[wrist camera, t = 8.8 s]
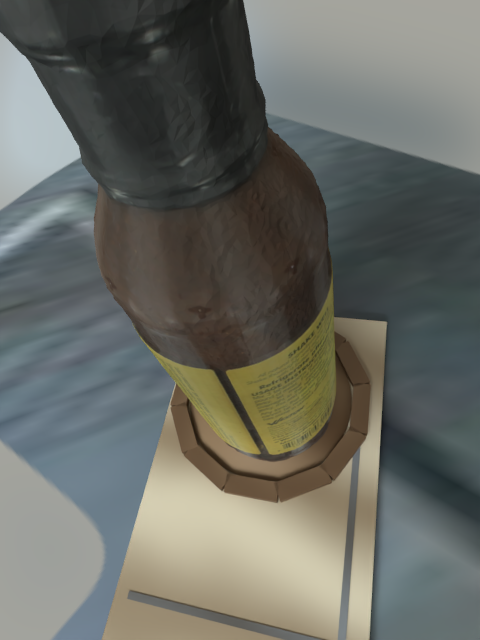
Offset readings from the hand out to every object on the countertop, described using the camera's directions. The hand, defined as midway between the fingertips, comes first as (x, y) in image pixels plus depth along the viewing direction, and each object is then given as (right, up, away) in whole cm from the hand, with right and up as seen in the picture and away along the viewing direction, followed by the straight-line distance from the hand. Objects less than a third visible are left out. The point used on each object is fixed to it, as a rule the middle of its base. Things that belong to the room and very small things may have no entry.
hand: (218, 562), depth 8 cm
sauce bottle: (+2, 0, +15) cm, 15 cm away
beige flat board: (+1, -3, +14) cm, 14 cm away
